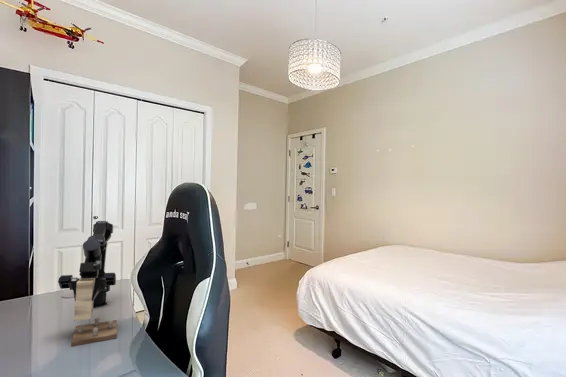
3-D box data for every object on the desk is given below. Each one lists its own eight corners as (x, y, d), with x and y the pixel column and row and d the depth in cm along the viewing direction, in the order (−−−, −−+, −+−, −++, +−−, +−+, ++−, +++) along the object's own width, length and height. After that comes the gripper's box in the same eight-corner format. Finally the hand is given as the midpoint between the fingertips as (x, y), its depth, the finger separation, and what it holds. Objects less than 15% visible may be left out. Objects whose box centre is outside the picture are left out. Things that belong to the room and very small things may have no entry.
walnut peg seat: (75, 329, 116) (76, 319, 116) (116, 323, 123) (117, 313, 123) (71, 346, 103) (71, 334, 104) (116, 338, 110) (117, 327, 110)
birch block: (77, 315, 113) (80, 278, 113) (92, 313, 115) (95, 277, 115) (74, 320, 108) (76, 282, 108) (89, 319, 110) (92, 281, 110)
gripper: (61, 254, 112) (49, 292, 102) (116, 252, 119) (111, 288, 109) (65, 270, 119) (55, 307, 109) (118, 267, 127) (113, 302, 116)
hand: (84, 300), depth 110 cm, fingers closed on birch block, 5 cm apart
